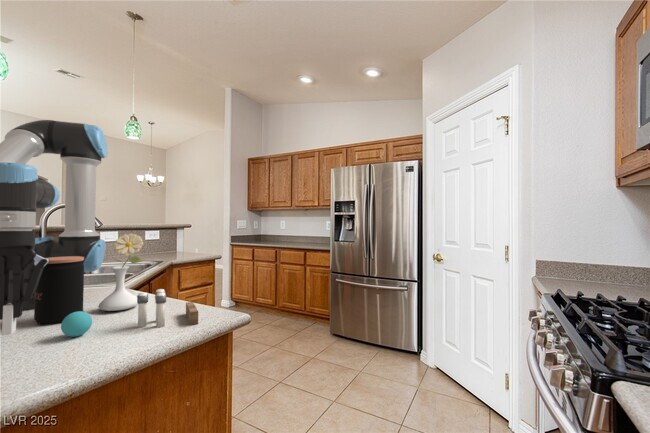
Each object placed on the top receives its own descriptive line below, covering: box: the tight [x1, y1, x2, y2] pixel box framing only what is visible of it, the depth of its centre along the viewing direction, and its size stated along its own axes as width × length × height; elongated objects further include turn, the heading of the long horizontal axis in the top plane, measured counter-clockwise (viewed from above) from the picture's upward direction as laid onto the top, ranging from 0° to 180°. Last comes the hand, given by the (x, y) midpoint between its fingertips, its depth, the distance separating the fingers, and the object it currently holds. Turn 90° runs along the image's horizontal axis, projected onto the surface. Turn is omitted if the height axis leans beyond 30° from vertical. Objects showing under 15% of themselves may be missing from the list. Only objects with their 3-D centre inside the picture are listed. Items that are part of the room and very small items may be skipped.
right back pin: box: [154, 292, 167, 328], centre depth 81 cm, size 3×3×9 cm
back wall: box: [185, 301, 199, 326], centre depth 88 cm, size 12×2×4 cm, turn 31°
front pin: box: [136, 292, 149, 328], centre depth 81 cm, size 3×3×9 cm
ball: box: [60, 311, 93, 338], centre depth 74 cm, size 6×6×6 cm
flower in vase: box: [97, 233, 144, 312], centre depth 98 cm, size 13×11×25 cm
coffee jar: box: [33, 256, 85, 326], centre depth 87 cm, size 11×11×18 cm
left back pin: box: [154, 288, 166, 312], centre depth 86 cm, size 3×3×9 cm
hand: (9, 332), depth 68 cm, fingers closed
